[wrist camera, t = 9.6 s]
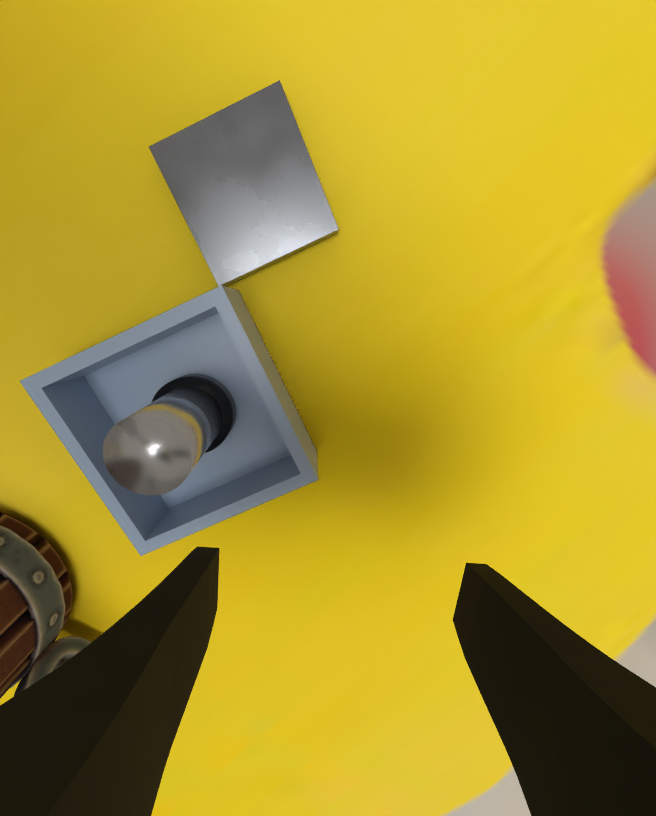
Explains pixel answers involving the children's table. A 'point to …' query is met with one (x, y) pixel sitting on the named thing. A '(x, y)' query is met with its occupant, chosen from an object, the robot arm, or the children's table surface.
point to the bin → (136, 387)
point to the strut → (169, 434)
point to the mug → (32, 607)
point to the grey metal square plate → (246, 185)
